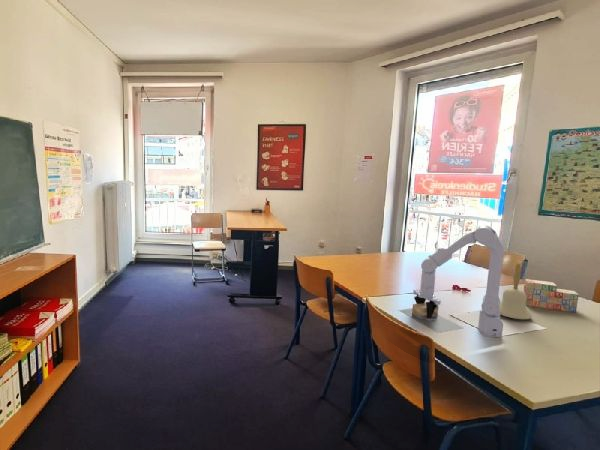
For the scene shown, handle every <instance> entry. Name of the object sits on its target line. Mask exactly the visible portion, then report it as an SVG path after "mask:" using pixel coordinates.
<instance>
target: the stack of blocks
mask: <svg viewBox="0 0 600 450" xmlns="http://www.w3.org/2000/svg"><path fill="white" fill-rule="evenodd" d="M523 292H524V293H525V294H526V303H525V306H530V307H536V308H543V309H549V310H555V311H562V312H569V313H577V307H578V303H579V302H578V301H579V294H578V293H577V292H576V291H575V290H569V289H562V288H558V285H557V284H555V282H552V281H545V280H536V279H529V278H525V280H524V285H523Z"/></svg>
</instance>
